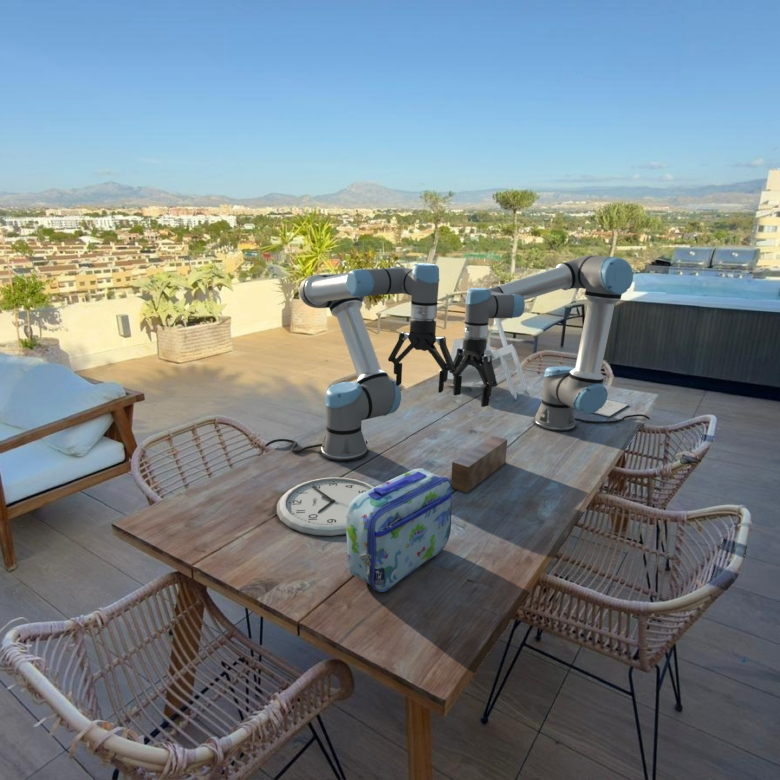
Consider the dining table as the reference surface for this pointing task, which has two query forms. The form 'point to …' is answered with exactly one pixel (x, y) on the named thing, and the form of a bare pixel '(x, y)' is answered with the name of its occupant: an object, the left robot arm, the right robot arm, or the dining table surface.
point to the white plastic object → (497, 358)
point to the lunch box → (398, 527)
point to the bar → (478, 463)
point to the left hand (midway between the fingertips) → (419, 388)
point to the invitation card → (610, 408)
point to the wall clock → (320, 505)
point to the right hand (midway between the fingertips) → (470, 400)
